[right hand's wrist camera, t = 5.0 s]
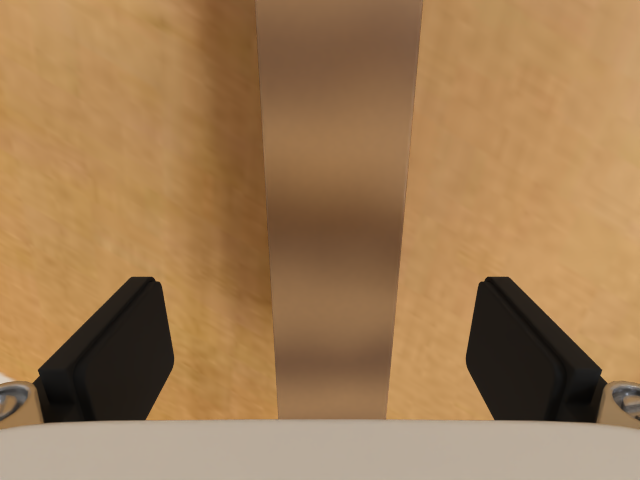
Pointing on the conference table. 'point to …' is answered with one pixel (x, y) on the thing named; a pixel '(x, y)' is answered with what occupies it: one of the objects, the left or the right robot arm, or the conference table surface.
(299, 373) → the beam
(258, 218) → the conference table surface
